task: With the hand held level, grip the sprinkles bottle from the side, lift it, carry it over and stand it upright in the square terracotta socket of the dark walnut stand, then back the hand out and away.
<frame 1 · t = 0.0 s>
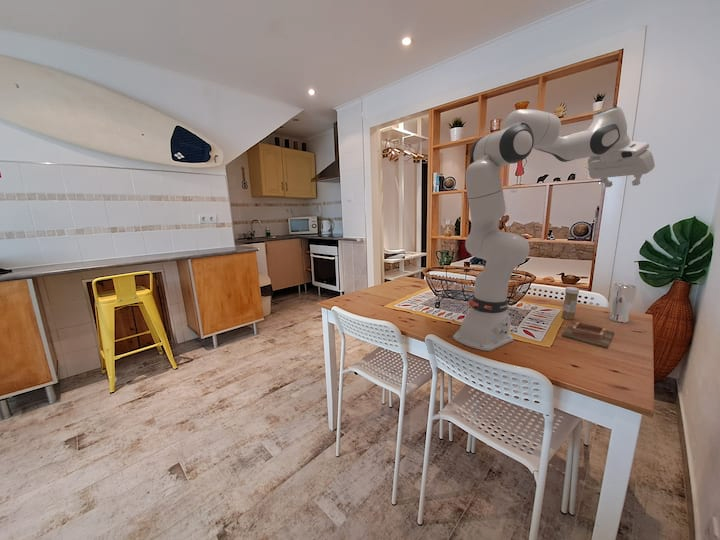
hand: (622, 185, 109), 54 cm above the table, tool tilted 30°, fingers open, 8 cm apart
beer glass: (618, 320, 118), on the table
sprinkles bottle: (567, 318, 120), on the table
tube stand: (587, 335, 105), on the table
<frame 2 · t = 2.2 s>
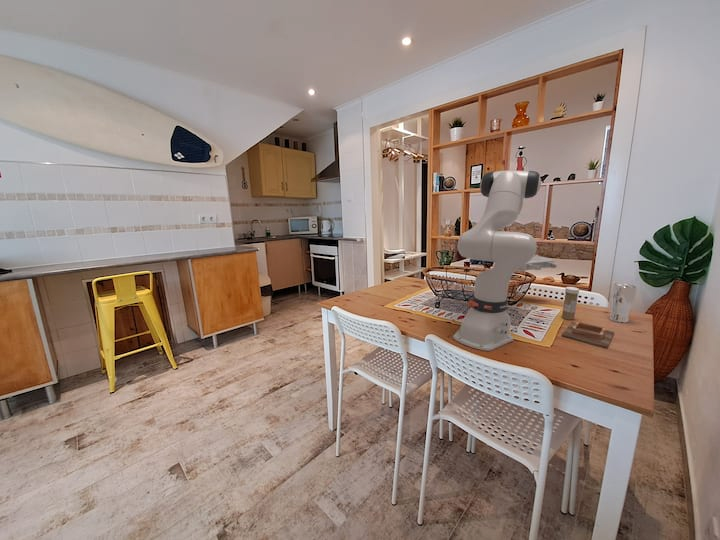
hand: (547, 267, 127), 20 cm above the table, tool horizontal, fingers open, 8 cm apart
nothing on the table moved.
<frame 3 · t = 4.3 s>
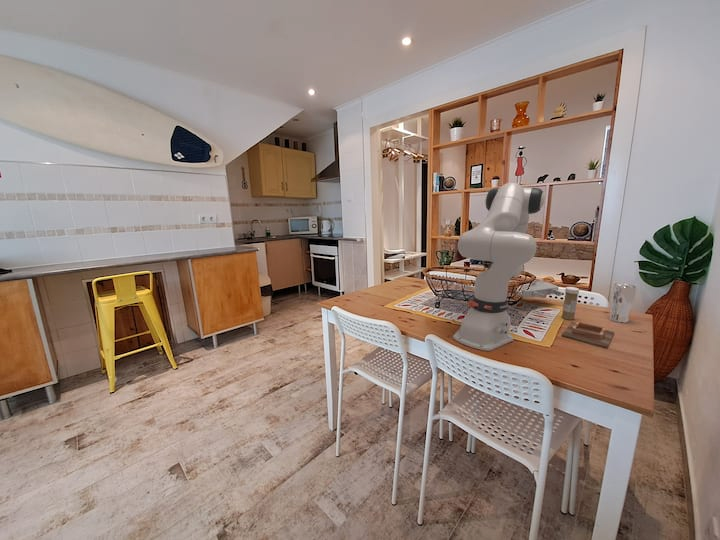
hand: (552, 295, 126), 8 cm above the table, tool horizontal, fingers open, 8 cm apart
nothing on the table moved.
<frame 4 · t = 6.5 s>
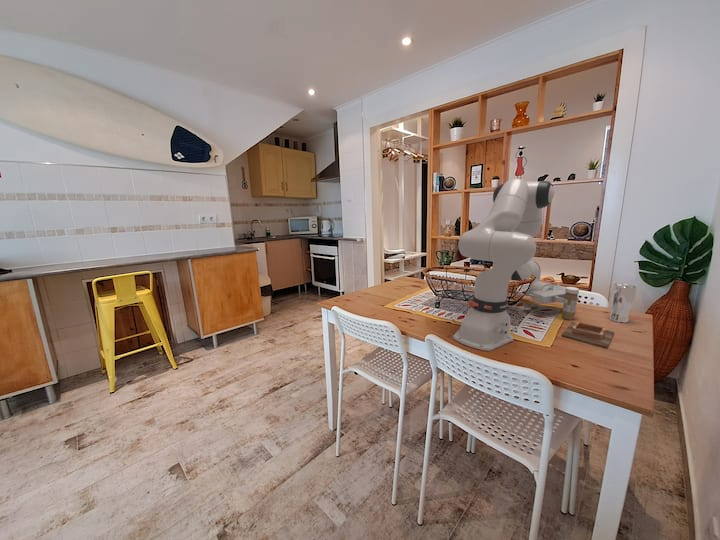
hand: (572, 300, 118), 8 cm above the table, tool horizontal, fingers closed on sprinkles bottle, 4 cm apart
sprinkles bottle: (567, 318, 120), on the table, touching gripper
everything else where it was.
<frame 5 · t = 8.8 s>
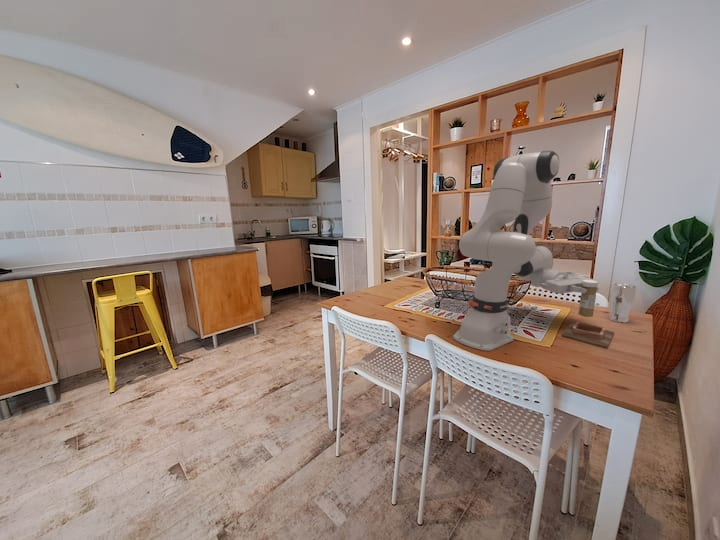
hand: (591, 290, 104), 17 cm above the table, tool horizontal, fingers closed on sprinkles bottle, 4 cm apart
sprinkles bottle: (585, 315, 106), point 6 cm above the table, touching gripper
everything else where it was.
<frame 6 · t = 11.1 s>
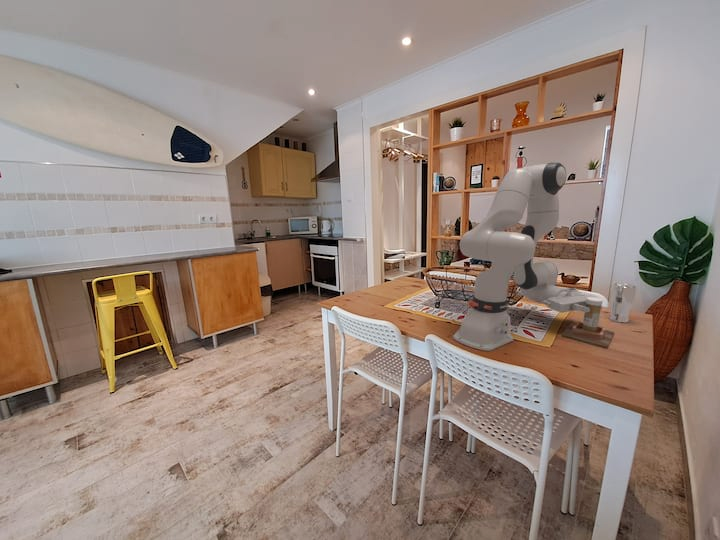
hand: (595, 309, 102), 10 cm above the table, tool horizontal, fingers closed on sprinkles bottle, 4 cm apart
sprinkles bottle: (589, 333, 105), point 1 cm above the table, touching gripper, tube stand
everything else where it was.
when the fingers open (10 cm above the table, at t = 11.1 s): sprinkles bottle stays where it is, resting on tube stand.
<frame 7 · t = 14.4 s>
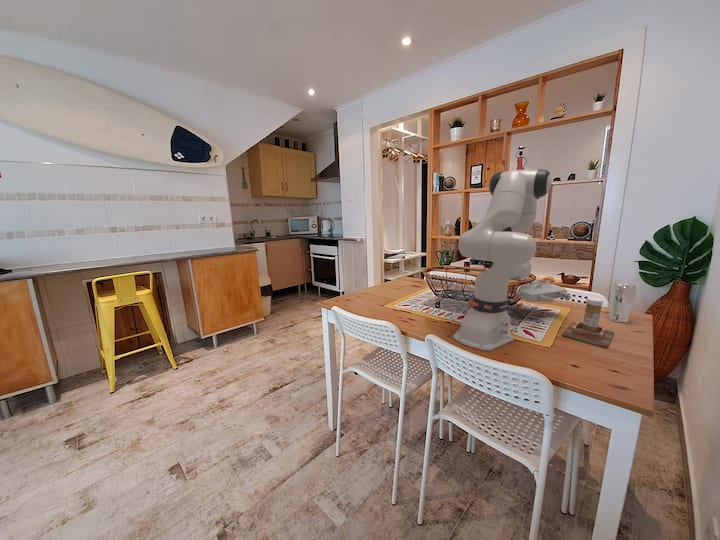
hand: (560, 299, 113), 10 cm above the table, tool horizontal, fingers open, 8 cm apart
sprinkles bottle: (589, 333, 105), point 1 cm above the table, touching tube stand
everything else where it was.
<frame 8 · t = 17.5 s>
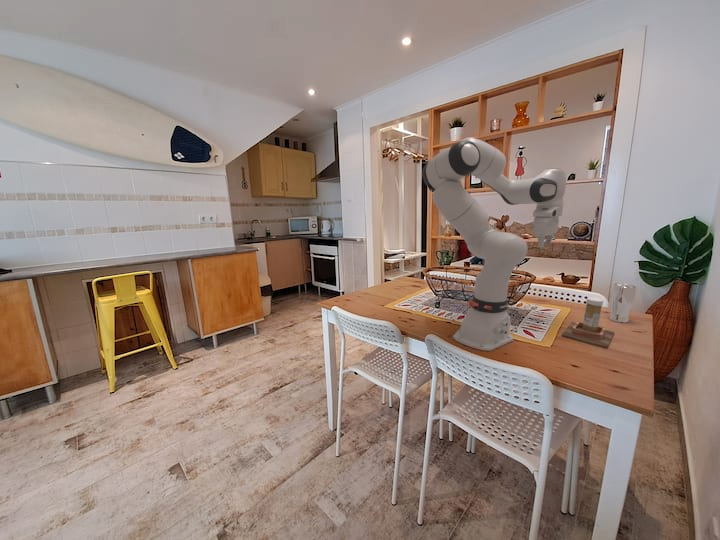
hand: (544, 246, 115), 31 cm above the table, tool pointing down, fingers open, 8 cm apart
nothing on the table moved.
at the end: sprinkles bottle 0.4 cm off-centre on the tube stand, point 0.6 cm above the tube stand's base; sprinkles bottle tilted 0°; the gripper is holding nothing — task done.
